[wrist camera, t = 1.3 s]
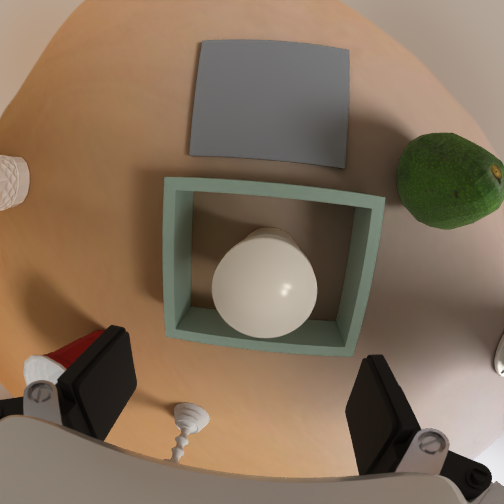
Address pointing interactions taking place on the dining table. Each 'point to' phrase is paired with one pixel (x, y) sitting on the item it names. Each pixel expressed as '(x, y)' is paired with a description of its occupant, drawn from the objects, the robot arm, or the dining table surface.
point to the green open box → (311, 331)
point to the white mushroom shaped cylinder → (265, 285)
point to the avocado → (449, 180)
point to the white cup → (13, 181)
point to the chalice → (187, 426)
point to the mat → (271, 102)
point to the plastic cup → (56, 360)
